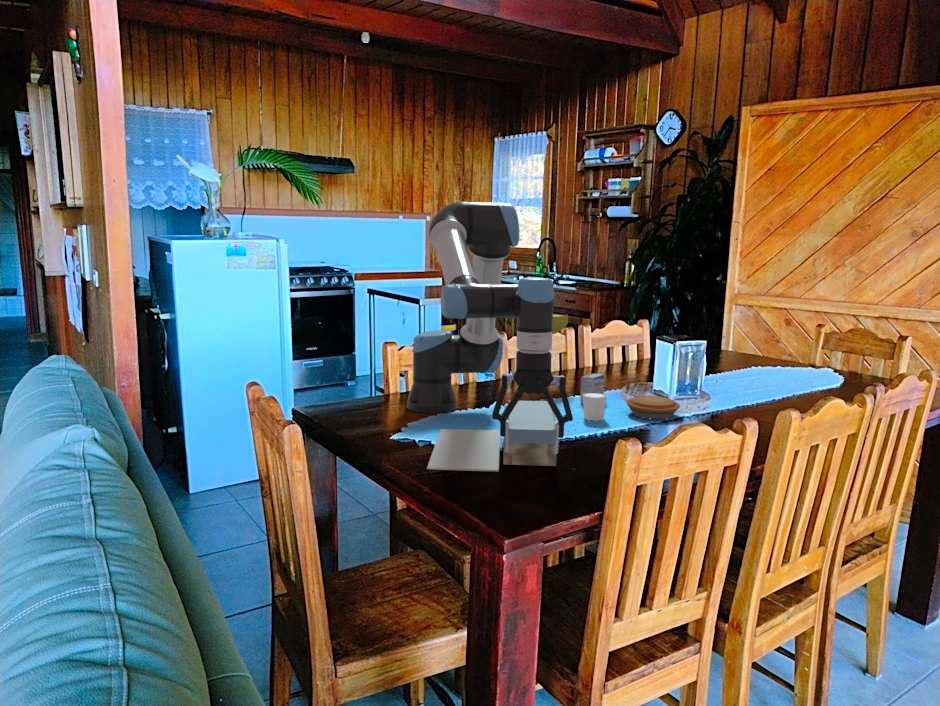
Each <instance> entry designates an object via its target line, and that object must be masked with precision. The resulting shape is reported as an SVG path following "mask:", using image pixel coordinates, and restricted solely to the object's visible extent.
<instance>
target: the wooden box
mask: <svg viewBox="0 0 940 706" xmlns="http://www.w3.org/2000/svg"><path fill="white" fill-rule="evenodd" d="M506 407H507V404H504V407H503V408H504V410H505V408H506ZM504 410H503V411H504ZM551 412H552V416H553V420H554V424H555V421H557V419H556V416H555V414H554V413H553V411H552V409H551ZM507 420H509V417H508V418H507ZM502 458H503V465H510V466H511V465H514V466H542V467H543V466H544V467H547V466H549V467H557V454H555V453H554V444H539V443H509V452H505V436H503V457H502Z"/></svg>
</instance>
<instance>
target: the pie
mask: <svg viewBox="0 0 940 706" xmlns="http://www.w3.org/2000/svg"><path fill="white" fill-rule="evenodd" d="M625 403H626V405H627V406H628V408H629V410H630V411H631V413H632V415H633V414H635V415H637V416H639V417H638V418H640V417H644V418H651V419H650V420H652V419H663V420H667V419H666V418H669V419H671V418H672V417H673V416H674V414H675V413H676V412H677V411H678V409H680V406H681V405H680V404H679V403H678V402H676V401H674V399H672V398H668V397H663V396H656V395H639V396H634V397H632V398H630V399H627V400H626V402H625ZM635 415H634V416H635ZM637 416H636V417H637ZM670 417H671V418H670ZM644 418H643V419H644Z"/></svg>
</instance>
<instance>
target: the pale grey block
mask: <svg viewBox="0 0 940 706" xmlns="http://www.w3.org/2000/svg"><path fill="white" fill-rule="evenodd" d="M510 400H511V399H510ZM510 400H508V403H509V402H510ZM509 443H539V444H556V428H555V424H554V420H553V416H552V412H551V407H550V405H549V404H548V402H547V400H543V401H542V400H519V401H518V402H517V404H516V405H515V407H514V409H513V410H512V412H511V413H510V415H509Z"/></svg>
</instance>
